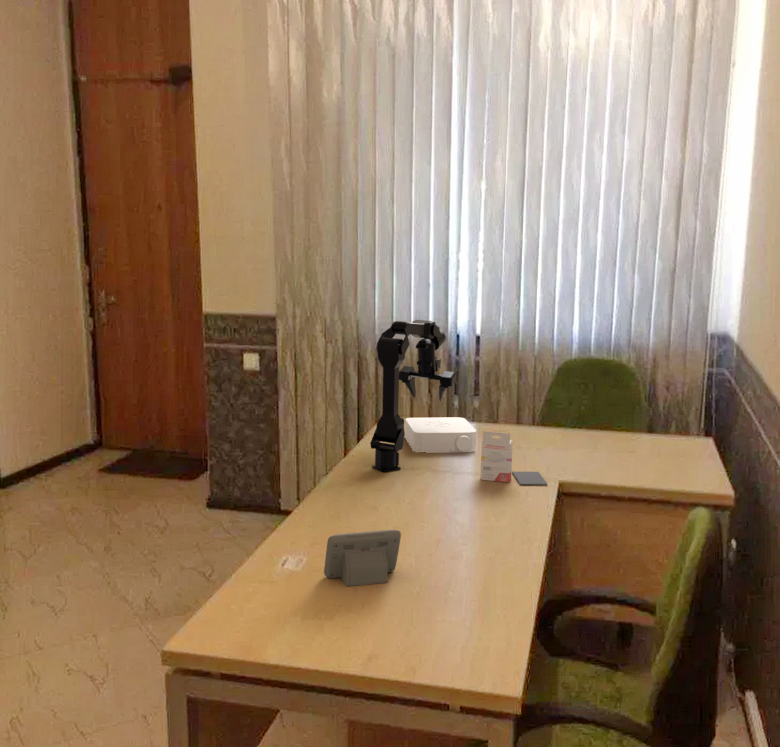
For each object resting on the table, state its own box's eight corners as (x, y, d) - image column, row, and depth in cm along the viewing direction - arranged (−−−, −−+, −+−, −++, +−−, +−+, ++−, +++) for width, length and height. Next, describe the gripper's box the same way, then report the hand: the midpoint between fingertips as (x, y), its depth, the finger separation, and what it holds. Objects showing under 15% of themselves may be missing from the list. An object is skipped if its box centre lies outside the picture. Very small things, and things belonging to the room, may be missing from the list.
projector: (414, 455, 284) (415, 434, 283) (403, 437, 306) (404, 417, 305) (478, 454, 287) (479, 433, 286) (462, 436, 309) (463, 417, 308)
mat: (519, 485, 254) (520, 483, 254) (512, 473, 266) (512, 471, 266) (547, 485, 255) (547, 483, 255) (538, 473, 267) (538, 471, 266)
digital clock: (397, 569, 193) (398, 523, 191) (402, 586, 185) (403, 538, 183) (323, 570, 192) (324, 523, 190) (324, 587, 183) (325, 539, 181)
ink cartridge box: (511, 478, 261) (514, 430, 258) (508, 483, 256) (511, 434, 254) (483, 475, 263) (485, 427, 261) (479, 479, 259) (482, 431, 256)
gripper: (461, 349, 291) (461, 391, 298) (408, 343, 298) (409, 384, 305) (450, 363, 282) (451, 406, 289) (396, 357, 288) (398, 399, 295)
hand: (427, 398), depth 295 cm, fingers open, 9 cm apart
